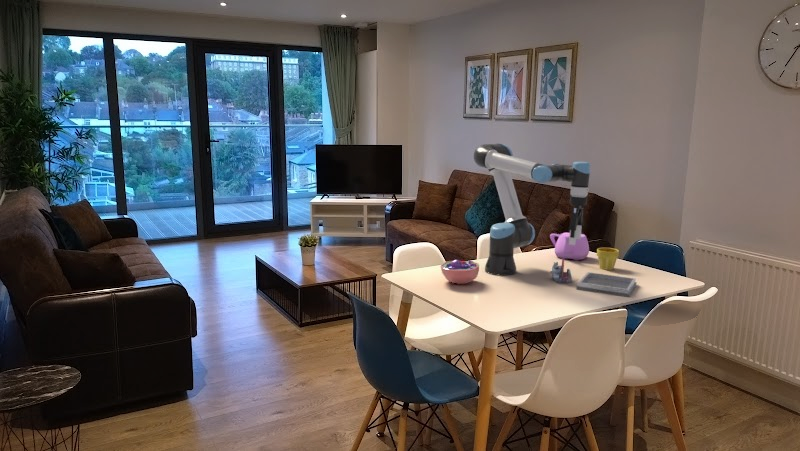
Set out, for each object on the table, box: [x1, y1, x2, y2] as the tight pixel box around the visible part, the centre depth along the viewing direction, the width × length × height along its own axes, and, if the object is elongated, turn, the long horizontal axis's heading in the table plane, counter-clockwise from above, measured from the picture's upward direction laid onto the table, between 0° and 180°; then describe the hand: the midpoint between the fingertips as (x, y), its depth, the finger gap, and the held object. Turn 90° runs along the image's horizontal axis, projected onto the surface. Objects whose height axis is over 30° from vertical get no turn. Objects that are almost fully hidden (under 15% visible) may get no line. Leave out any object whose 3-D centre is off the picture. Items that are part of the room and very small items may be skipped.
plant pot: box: [596, 247, 620, 271], centre depth 286 cm, size 10×10×10 cm
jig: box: [575, 271, 638, 298], centre depth 253 cm, size 22×22×3 cm
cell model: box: [439, 259, 480, 285], centre depth 256 cm, size 17×20×11 cm
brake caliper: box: [549, 258, 573, 284], centre depth 262 cm, size 11×11×12 cm
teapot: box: [549, 232, 590, 261], centre depth 306 cm, size 23×21×15 cm
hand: (574, 241), depth 260 cm, fingers open, 13 cm apart
